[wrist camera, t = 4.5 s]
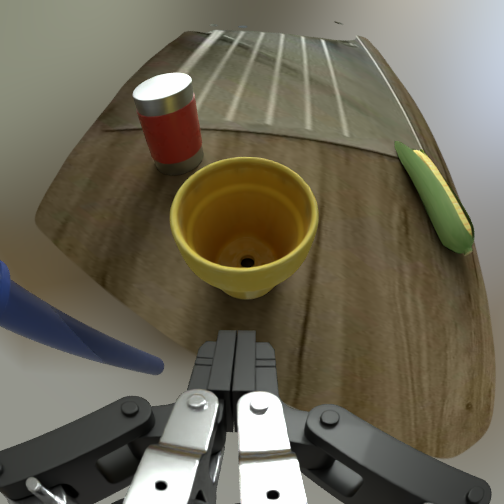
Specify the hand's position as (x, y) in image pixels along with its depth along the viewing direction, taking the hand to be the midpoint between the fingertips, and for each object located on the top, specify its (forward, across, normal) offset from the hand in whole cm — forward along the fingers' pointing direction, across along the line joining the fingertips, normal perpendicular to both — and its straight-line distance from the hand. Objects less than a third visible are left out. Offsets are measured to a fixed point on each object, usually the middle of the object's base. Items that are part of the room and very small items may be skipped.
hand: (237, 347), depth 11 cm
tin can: (+27, +10, -9) cm, 30 cm away
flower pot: (+16, 0, +2) cm, 17 cm away
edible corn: (+24, -24, -5) cm, 34 cm away
